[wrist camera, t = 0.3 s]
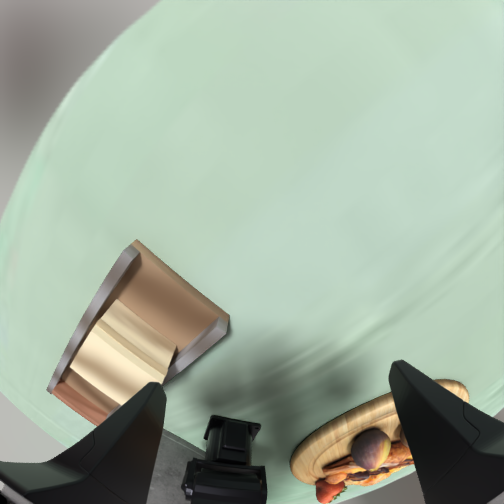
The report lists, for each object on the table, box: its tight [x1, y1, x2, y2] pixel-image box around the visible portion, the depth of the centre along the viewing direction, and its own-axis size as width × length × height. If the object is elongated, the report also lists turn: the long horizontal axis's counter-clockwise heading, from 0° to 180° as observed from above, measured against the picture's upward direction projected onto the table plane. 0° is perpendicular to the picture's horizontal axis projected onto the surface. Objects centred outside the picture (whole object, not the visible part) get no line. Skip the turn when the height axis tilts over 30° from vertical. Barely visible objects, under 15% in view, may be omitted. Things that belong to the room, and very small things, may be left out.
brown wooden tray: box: [46, 239, 229, 426], centre depth 26 cm, size 30×10×4 cm, turn 137°
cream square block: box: [70, 299, 177, 405], centre depth 22 cm, size 7×7×5 cm
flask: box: [146, 429, 206, 504], centre depth 26 cm, size 4×14×18 cm, turn 40°
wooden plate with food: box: [290, 379, 469, 504], centre depth 30 cm, size 32×32×8 cm
